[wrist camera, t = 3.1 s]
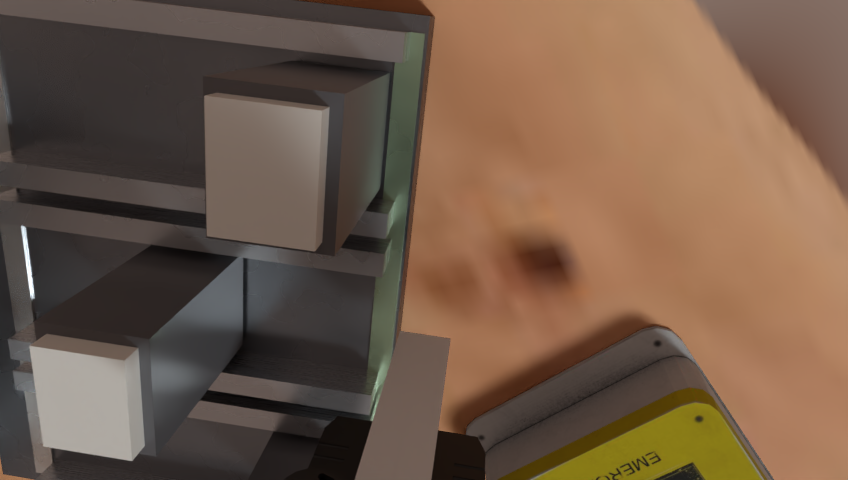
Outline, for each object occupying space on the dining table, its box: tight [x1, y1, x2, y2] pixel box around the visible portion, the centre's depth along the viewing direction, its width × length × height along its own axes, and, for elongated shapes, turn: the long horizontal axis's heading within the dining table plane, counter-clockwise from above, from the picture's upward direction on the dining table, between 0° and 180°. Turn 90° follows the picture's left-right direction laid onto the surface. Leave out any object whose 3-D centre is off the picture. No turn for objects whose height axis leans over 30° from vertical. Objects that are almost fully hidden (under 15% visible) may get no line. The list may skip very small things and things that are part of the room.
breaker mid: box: [29, 245, 243, 461], centre depth 18 cm, size 3×4×7 cm
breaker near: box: [203, 61, 390, 256], centre depth 15 cm, size 3×4×7 cm
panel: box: [0, 0, 435, 480], centre depth 21 cm, size 16×20×3 cm
